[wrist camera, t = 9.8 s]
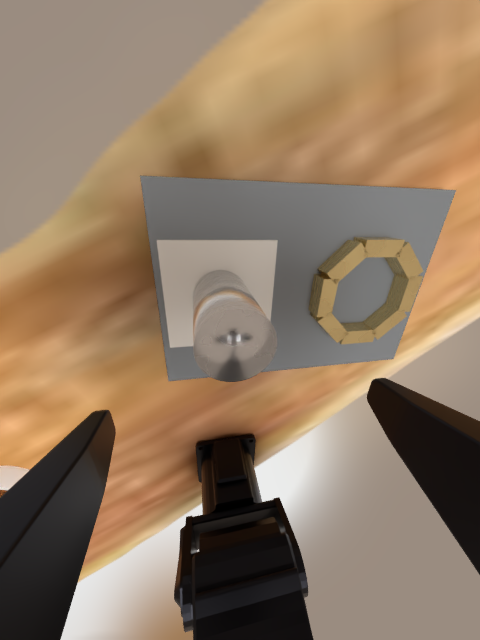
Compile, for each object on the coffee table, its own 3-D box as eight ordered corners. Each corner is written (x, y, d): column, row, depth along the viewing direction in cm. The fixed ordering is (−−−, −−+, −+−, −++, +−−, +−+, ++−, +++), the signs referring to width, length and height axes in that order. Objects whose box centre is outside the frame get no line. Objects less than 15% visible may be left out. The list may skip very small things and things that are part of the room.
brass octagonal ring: (387, 331, 22) (399, 339, 21) (303, 337, 21) (311, 347, 19) (419, 237, 18) (436, 239, 17) (320, 237, 17) (331, 239, 16)
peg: (248, 269, 17) (281, 306, 11) (246, 320, 18) (273, 377, 12) (191, 270, 16) (190, 311, 10) (194, 322, 18) (195, 385, 12)
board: (386, 353, 25) (393, 358, 24) (169, 373, 21) (168, 381, 20) (443, 190, 18) (456, 190, 17) (143, 177, 14) (140, 175, 13)
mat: (267, 338, 20) (268, 340, 20) (170, 345, 19) (170, 347, 18) (276, 239, 16) (277, 240, 16) (157, 239, 15) (156, 240, 15)
